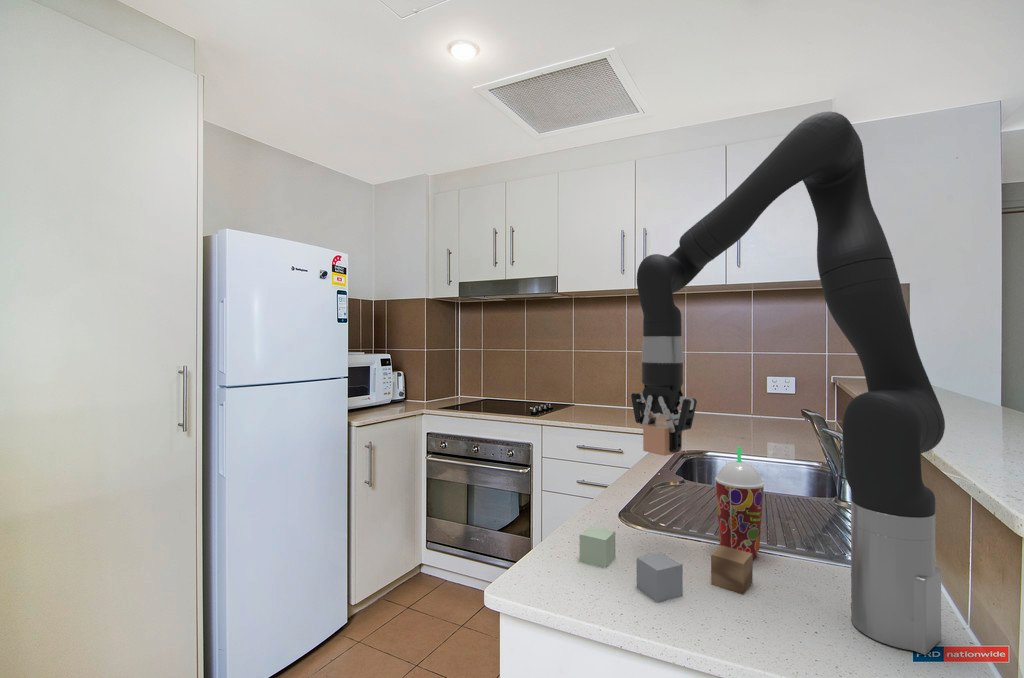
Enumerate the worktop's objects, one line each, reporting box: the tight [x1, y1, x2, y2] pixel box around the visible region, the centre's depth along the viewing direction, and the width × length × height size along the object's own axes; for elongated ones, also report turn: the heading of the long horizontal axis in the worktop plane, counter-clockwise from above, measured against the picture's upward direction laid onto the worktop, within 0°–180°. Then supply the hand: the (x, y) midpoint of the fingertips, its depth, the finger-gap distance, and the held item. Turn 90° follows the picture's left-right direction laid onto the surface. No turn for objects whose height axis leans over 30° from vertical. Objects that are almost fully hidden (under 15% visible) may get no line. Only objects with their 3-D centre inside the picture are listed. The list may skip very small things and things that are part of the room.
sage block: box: [579, 525, 616, 569], centre depth 90 cm, size 5×5×5 cm
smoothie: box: [714, 446, 765, 559], centre depth 93 cm, size 8×8×20 cm
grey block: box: [636, 551, 684, 603], centre depth 79 cm, size 5×5×5 cm
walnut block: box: [710, 545, 754, 596], centre depth 81 cm, size 5×5×5 cm
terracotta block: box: [642, 422, 683, 457], centre depth 94 cm, size 5×5×5 cm
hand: (662, 448), depth 94 cm, fingers closed on terracotta block, 5 cm apart
